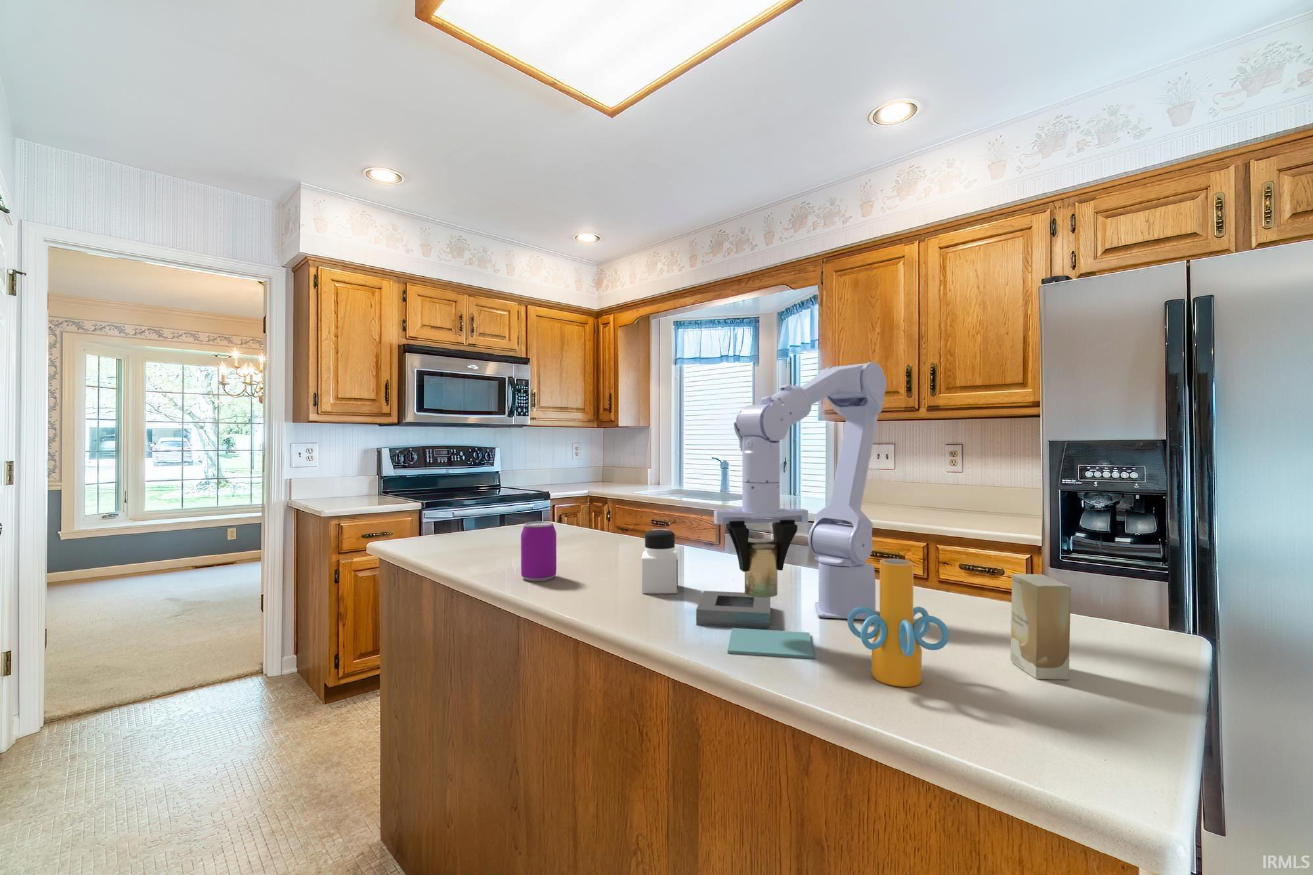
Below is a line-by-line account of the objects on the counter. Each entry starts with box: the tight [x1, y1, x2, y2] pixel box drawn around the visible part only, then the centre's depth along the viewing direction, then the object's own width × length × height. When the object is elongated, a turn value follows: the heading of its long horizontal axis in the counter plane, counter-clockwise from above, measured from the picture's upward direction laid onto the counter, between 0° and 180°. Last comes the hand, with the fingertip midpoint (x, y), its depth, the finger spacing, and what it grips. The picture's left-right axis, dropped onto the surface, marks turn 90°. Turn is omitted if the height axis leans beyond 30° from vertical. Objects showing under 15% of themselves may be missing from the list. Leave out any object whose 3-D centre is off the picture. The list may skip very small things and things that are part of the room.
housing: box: [695, 590, 771, 630], centre depth 104 cm, size 12×12×2 cm
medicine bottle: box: [641, 528, 679, 595], centre depth 121 cm, size 7×7×12 cm
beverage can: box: [520, 520, 557, 582], centre depth 131 cm, size 8×8×12 cm
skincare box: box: [1010, 573, 1072, 680], centre depth 79 cm, size 6×4×12 cm
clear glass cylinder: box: [744, 538, 778, 598], centre depth 93 cm, size 5×5×8 cm
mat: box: [727, 627, 815, 660], centre depth 90 cm, size 12×10×1 cm
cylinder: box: [847, 558, 950, 688], centre depth 77 cm, size 12×10×15 cm
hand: (761, 569), depth 93 cm, fingers closed on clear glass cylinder, 5 cm apart
